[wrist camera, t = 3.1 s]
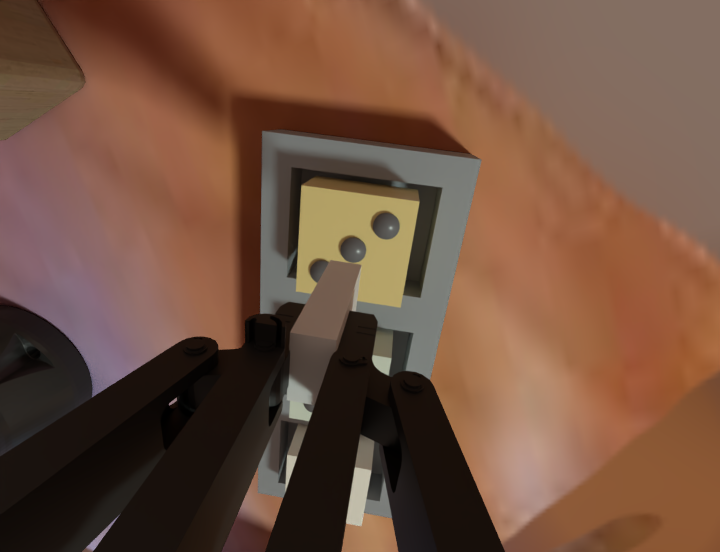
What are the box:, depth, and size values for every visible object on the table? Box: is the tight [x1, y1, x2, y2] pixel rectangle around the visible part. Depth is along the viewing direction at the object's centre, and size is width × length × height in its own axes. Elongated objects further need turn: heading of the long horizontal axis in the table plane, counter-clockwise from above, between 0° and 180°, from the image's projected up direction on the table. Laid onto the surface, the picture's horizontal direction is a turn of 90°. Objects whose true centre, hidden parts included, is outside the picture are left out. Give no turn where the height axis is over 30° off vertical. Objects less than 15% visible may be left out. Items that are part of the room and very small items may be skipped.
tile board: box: [258, 129, 481, 518], centre depth 32 cm, size 14×34×4 cm, turn 174°
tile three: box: [296, 176, 420, 308], centre depth 25 cm, size 7×7×4 cm
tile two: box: [289, 327, 393, 421], centre depth 30 cm, size 7×7×4 cm
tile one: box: [285, 423, 374, 526], centre depth 34 cm, size 7×7×4 cm
